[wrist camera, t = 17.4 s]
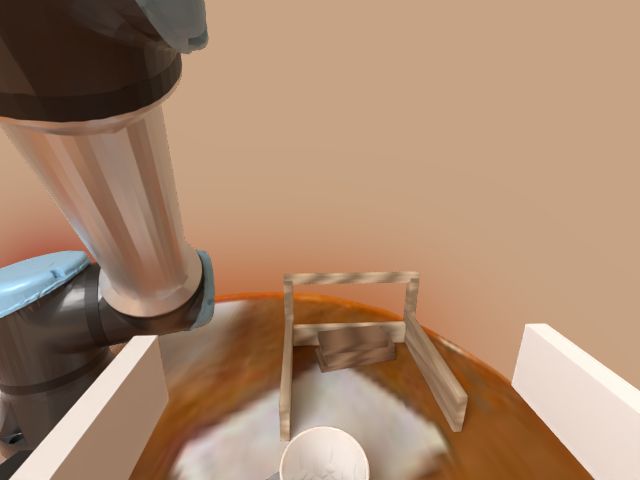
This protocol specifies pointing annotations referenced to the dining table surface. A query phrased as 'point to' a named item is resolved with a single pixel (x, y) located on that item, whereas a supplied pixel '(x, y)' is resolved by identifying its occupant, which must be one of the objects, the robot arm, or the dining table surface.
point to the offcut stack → (353, 347)
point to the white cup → (324, 456)
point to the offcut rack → (407, 331)
